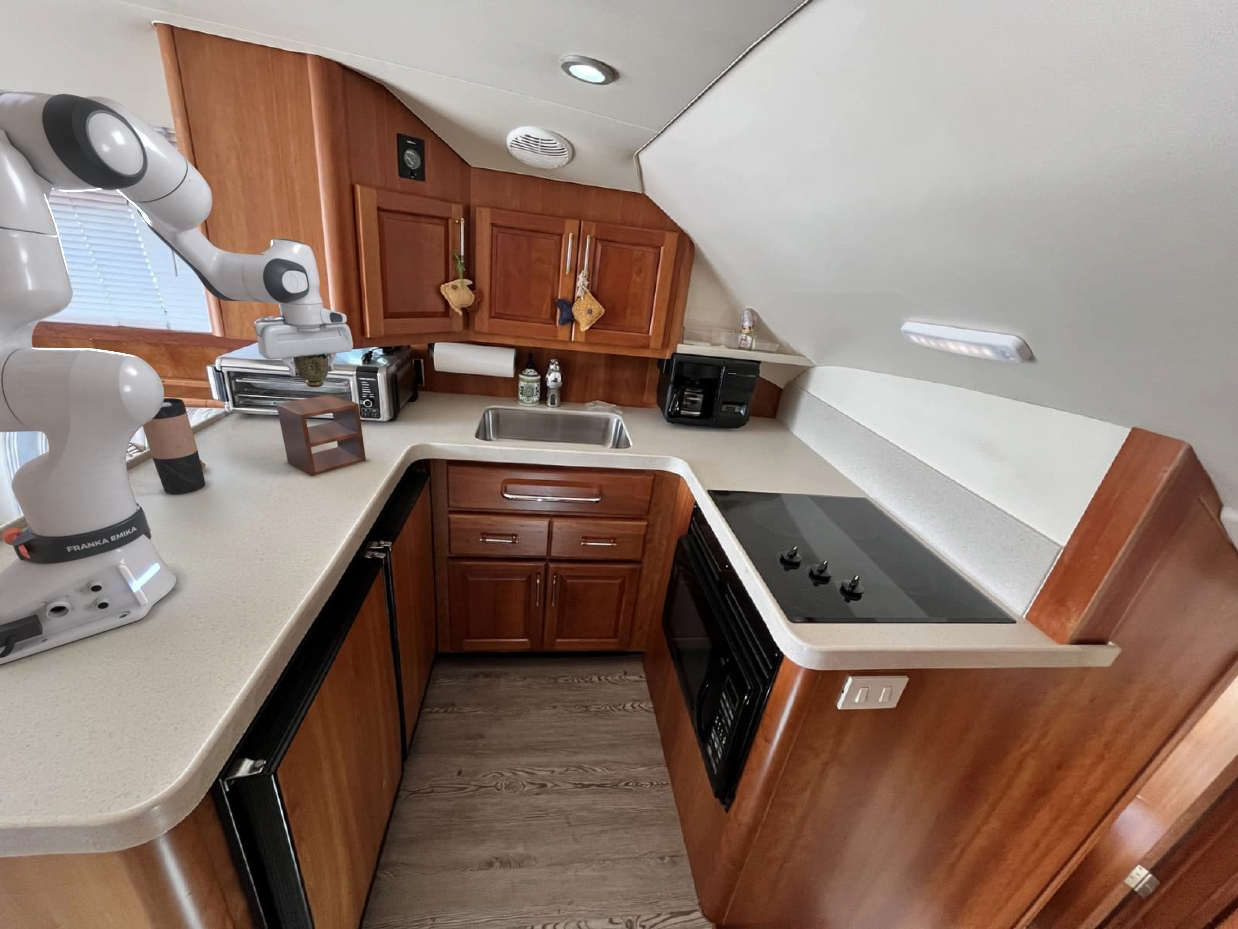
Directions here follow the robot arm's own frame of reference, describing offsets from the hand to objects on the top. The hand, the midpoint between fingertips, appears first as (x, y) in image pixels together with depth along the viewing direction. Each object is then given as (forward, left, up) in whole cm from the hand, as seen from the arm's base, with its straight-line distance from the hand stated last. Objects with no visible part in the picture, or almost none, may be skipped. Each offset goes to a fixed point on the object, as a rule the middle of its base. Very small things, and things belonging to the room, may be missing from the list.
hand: (312, 373), depth 120 cm
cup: (0, 0, -3) cm, 3 cm away
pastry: (-25, +18, -24) cm, 39 cm away
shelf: (0, 0, -24) cm, 24 cm away
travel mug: (-28, +7, -24) cm, 37 cm away
